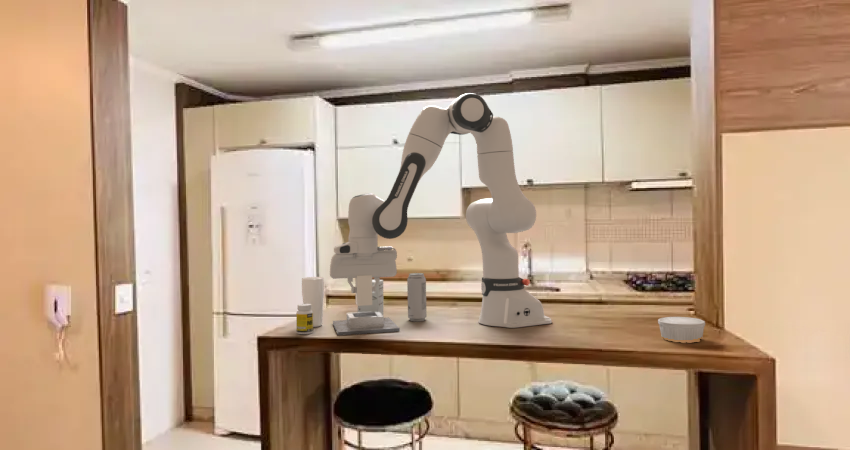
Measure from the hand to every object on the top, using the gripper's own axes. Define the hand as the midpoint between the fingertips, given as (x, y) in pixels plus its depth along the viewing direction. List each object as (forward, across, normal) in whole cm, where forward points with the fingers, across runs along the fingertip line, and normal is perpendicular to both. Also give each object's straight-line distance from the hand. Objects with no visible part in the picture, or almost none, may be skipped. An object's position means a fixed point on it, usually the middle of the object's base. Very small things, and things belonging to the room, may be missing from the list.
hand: (363, 292), depth 172 cm
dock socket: (+11, 0, 0) cm, 11 cm away
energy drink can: (+11, -18, -7) cm, 22 cm away
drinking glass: (+11, +15, -8) cm, 20 cm away
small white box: (+4, 0, 0) cm, 4 cm away
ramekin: (+11, -78, +43) cm, 90 cm away
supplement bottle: (+11, +18, +2) cm, 21 cm away
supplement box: (+11, -4, -15) cm, 19 cm away
